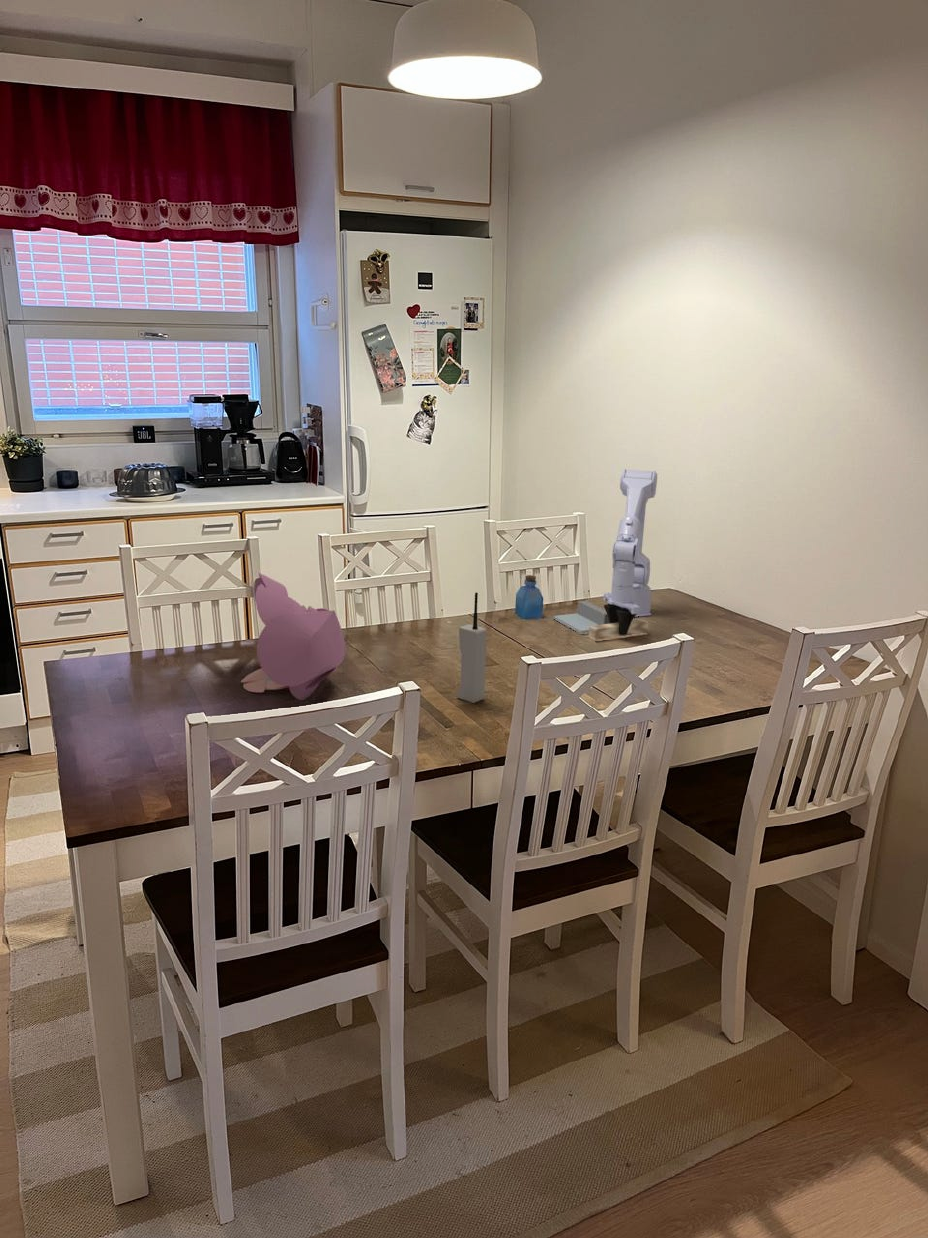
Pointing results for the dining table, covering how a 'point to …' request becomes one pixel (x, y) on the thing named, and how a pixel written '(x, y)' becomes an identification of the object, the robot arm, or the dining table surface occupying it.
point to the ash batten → (617, 629)
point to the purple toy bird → (293, 642)
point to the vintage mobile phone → (472, 660)
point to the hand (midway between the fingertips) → (618, 632)
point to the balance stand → (584, 617)
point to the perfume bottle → (529, 600)
